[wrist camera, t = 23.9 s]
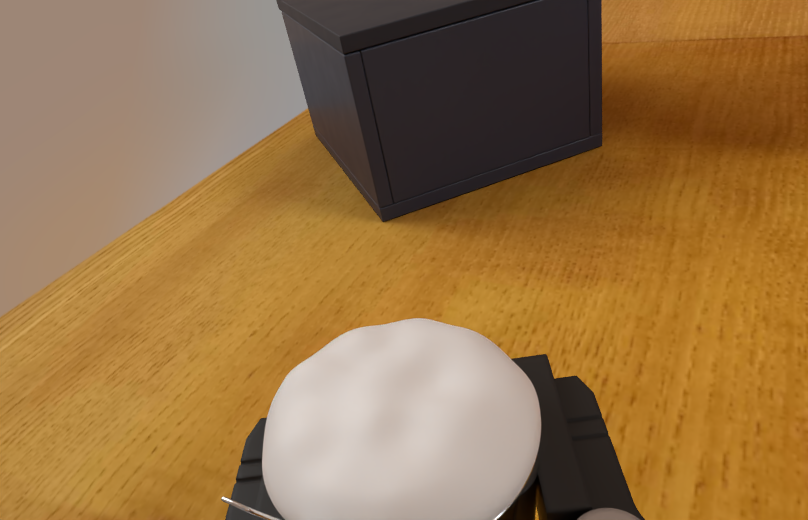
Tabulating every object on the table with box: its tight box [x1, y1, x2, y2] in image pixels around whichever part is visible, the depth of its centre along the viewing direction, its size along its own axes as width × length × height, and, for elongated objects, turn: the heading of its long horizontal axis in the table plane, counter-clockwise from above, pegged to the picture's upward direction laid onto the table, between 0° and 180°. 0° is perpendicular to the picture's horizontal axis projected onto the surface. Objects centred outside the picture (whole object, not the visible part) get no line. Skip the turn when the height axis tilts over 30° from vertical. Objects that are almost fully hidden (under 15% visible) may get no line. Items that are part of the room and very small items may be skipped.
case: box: [282, 0, 602, 222], centre depth 38 cm, size 16×14×9 cm
